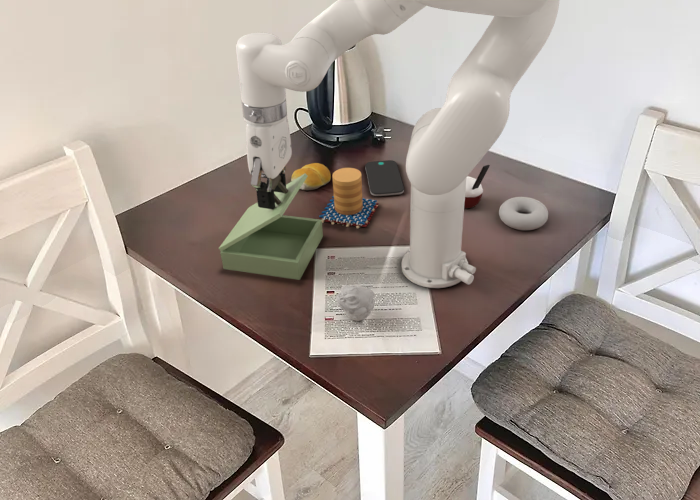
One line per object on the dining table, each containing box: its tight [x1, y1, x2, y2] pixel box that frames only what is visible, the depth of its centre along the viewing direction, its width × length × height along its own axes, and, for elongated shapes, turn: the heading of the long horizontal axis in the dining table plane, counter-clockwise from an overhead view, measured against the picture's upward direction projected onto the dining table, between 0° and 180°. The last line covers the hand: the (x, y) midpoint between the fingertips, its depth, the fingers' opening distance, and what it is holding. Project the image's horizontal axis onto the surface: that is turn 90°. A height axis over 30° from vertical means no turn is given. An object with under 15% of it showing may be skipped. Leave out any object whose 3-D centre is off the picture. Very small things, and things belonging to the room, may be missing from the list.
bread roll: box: [290, 162, 332, 191], centre depth 153 cm, size 8×9×4 cm
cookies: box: [331, 167, 363, 215], centre depth 138 cm, size 6×6×8 cm
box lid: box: [218, 173, 308, 252], centre depth 125 cm, size 16×15×5 cm
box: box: [219, 214, 324, 281], centre depth 130 cm, size 16×15×5 cm
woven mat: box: [318, 195, 380, 229], centre depth 141 cm, size 10×11×2 cm
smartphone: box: [364, 159, 405, 197], centre depth 153 cm, size 8×1×15 cm
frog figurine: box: [335, 284, 375, 322], centre depth 113 cm, size 6×7×7 cm
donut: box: [498, 196, 549, 231], centre depth 137 cm, size 10×4×10 cm
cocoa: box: [464, 164, 491, 209], centre depth 139 cm, size 10×6×12 cm, turn 6°
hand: (272, 198), depth 123 cm, fingers closed on box lid, 5 cm apart
